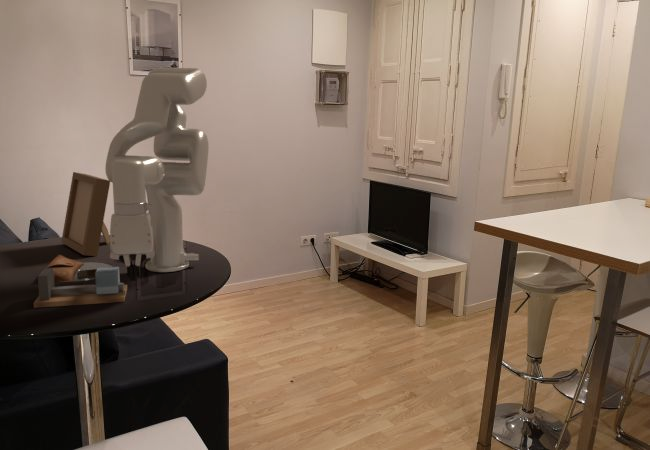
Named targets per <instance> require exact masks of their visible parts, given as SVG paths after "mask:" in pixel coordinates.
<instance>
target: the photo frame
mask: <svg viewBox="0 0 650 450" xmlns="http://www.w3.org/2000/svg"><path fill="white" fill-rule="evenodd" d="M110 183H111V181H109V180H108V179H105V178H101V177H98V176H94V175H91V174H86V173H81V172H75V171H73V172H72V178H71V183H70V189H69V194H68V201H67V206H66V212H65V218H64V223H63V230H62V234H61V235H62V236H61V241H60V242H61V243H62V244H63V245H65V246H67V247H68V248H70V249H72V250H74V251H75V252H77V253H79V254H81V255H82V256H89V257H90V256H92V257H98V253H99V248H100V242H101V236H103V239H104V241H105V242H104V243H105V244H106V245H108V244H110V232H109V229H108V228H107V225H106V224H105V222H104V219H105V213H106V209H107V202H108V197H109V190H110V185H111V184H110Z"/></svg>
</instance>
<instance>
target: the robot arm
mask: <svg viewBox="0 0 650 450" xmlns="http://www.w3.org/2000/svg"><path fill="white" fill-rule="evenodd" d="M207 81H208V80H207V78H206V74H205V73H204V72H203V70H202V69H200V68H196V67H195V68H194V67H193V68H192V67H157V68H154V69H151V70H149V72H148V74H147V75H146V76H144V77H143V79H142V81H141V86H140V90H139V94H138V98H137V99H138V100H137V104H136V108H135V111H134V112H135V114H134V117H133V119H132V120H131V121H130V122H128V123H127V124H126V125H124V126H123V127H122V128H121V129H120V130H119V131H118V132H117V133H116V134H115V135H114V137H113V138H112V140H111V142H110V144H109V147H108V152H107V156H106V161H105V168H104V169H105V176H106V178H107V180H109V181H110V183H112V193H113V194H112V195H113V196H112V197H113V198H112V199H113V213H112V214H111V218H110V227H109V231H110V232H109V237H110V242H109V249H110V254H109V259H111V260H117V261H118V260H119V261H120V262H121V263H123V264H124V265H125V267H127V275H126V276H127V279H129V282H130V283H131V282H138V280H139V279H138V278H140V277H141V267H140V266H141V264H142V263H143V262H144V261H145V260H146V259H150V260H148V261H147V262H146V263H145V269H146V270H148V271H150V272H156V273H172V272H178V271H183V270H184V269H187V268H189V265H190V261H199V260H200V259H199V258H200V255H199V253H195V252H190V253H187V252H185V249H184V240H183V238H184V237H183V236H184V234H183V232H184V230H183V209H182V206H181V204H180V203H179V200H177V198H176V197H175V196H198V195H200V194H202V193H203V192H204V190H205V186H206V178H207V168H208V159H209V140H208V135H207V134H206V133H205V131H203V130H202V129H197V128H187V127H186V123H187V114H186V112H185V110H184V109H183V107H182V106H181V105H185V106H186V105H192V104H195V103H196V102H197V101H199V100H200V99H201V98H203V97H204V95H205V93H206V91H207ZM153 137H154V139H153V152H154V156H148V155H129V154H128V155H127V153H128V152H129V150H130V149H132V147H133V146H135V145H136V144H138V143H140V142H143V141H146V140H148V139H150V138H153ZM160 159H161V160H164V161H161V160H160ZM165 160H166V161H165ZM175 161H181V162H175ZM182 161H184V162H182ZM185 161H186V162H185ZM131 255H135V261H134V262H133V261H132V259H131Z"/></svg>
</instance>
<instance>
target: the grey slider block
mask: <svg viewBox="0 0 650 450" xmlns="http://www.w3.org/2000/svg"><path fill="white" fill-rule="evenodd" d="M119 267H120V265H118V266H116V265H115V266H100V267H99V266H98V267H97V268H96V269H97V270H96V273H95V278H94V279H95V284H96V293H97V294H113V293H118V292H119V288H118V284H119V283H121V280H120V279H121V278H120V276H121V275H119Z"/></svg>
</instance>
